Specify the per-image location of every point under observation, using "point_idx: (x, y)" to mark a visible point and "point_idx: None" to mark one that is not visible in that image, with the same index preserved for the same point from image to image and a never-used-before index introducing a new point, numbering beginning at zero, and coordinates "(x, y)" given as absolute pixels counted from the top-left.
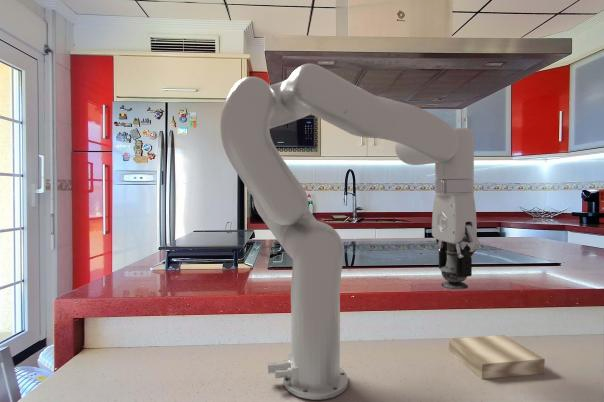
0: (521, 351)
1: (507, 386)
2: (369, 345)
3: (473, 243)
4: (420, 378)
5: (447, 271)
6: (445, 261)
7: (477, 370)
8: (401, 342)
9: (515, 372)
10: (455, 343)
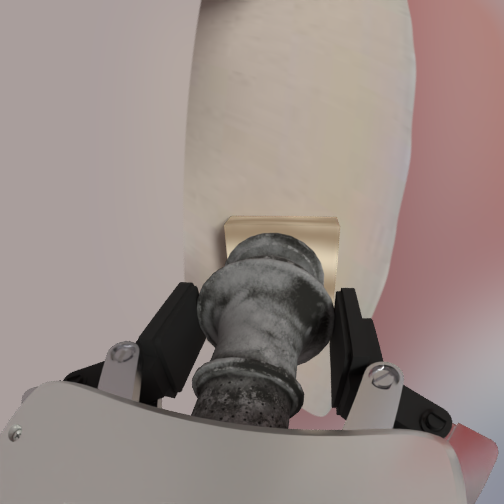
0: None
1: (208, 241)
2: (388, 69)
3: (26, 393)
4: (242, 110)
5: (224, 271)
6: (337, 337)
7: (241, 219)
8: (395, 142)
9: None
10: (316, 226)
